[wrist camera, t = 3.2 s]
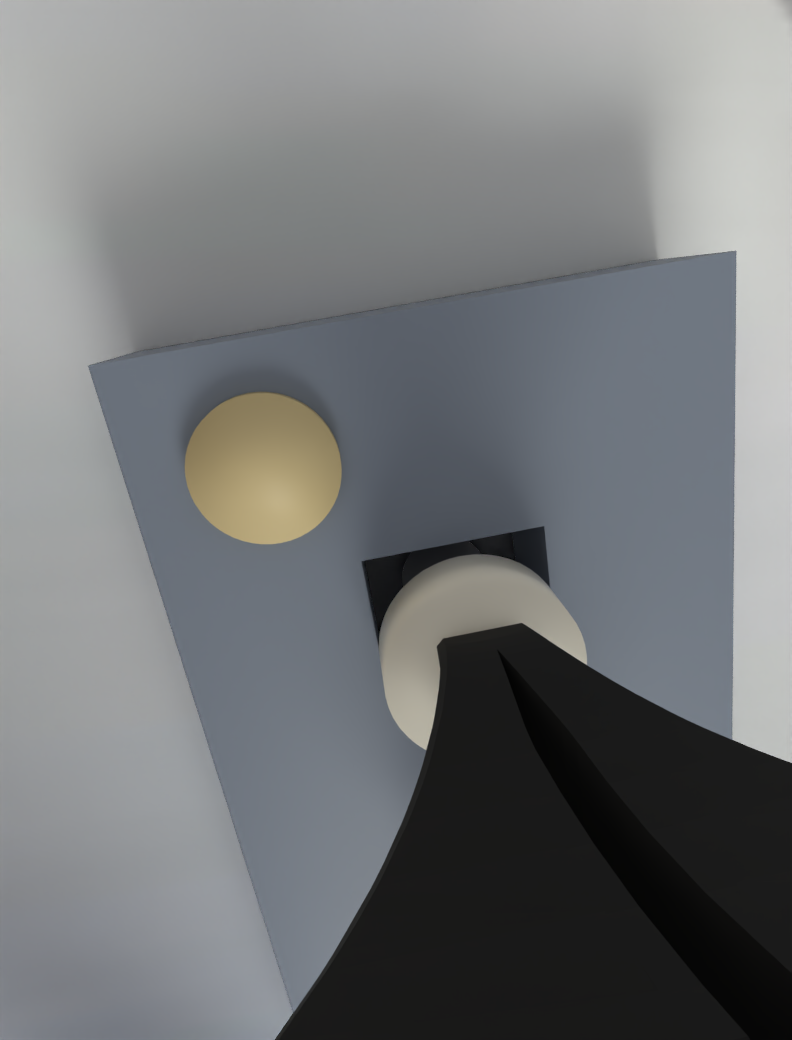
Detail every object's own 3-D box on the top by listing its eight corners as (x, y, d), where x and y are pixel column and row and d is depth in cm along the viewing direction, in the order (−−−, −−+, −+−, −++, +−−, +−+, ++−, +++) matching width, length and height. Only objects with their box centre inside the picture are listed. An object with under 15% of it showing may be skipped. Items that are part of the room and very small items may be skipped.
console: (679, 987, 19) (735, 1097, 17) (341, 1062, 19) (344, 1187, 16) (658, 259, 12) (747, 249, 10) (134, 352, 12) (81, 367, 9)
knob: (526, 627, 14) (593, 739, 11) (382, 655, 14) (402, 779, 11) (510, 490, 13) (579, 563, 10) (355, 519, 13) (367, 604, 10)
